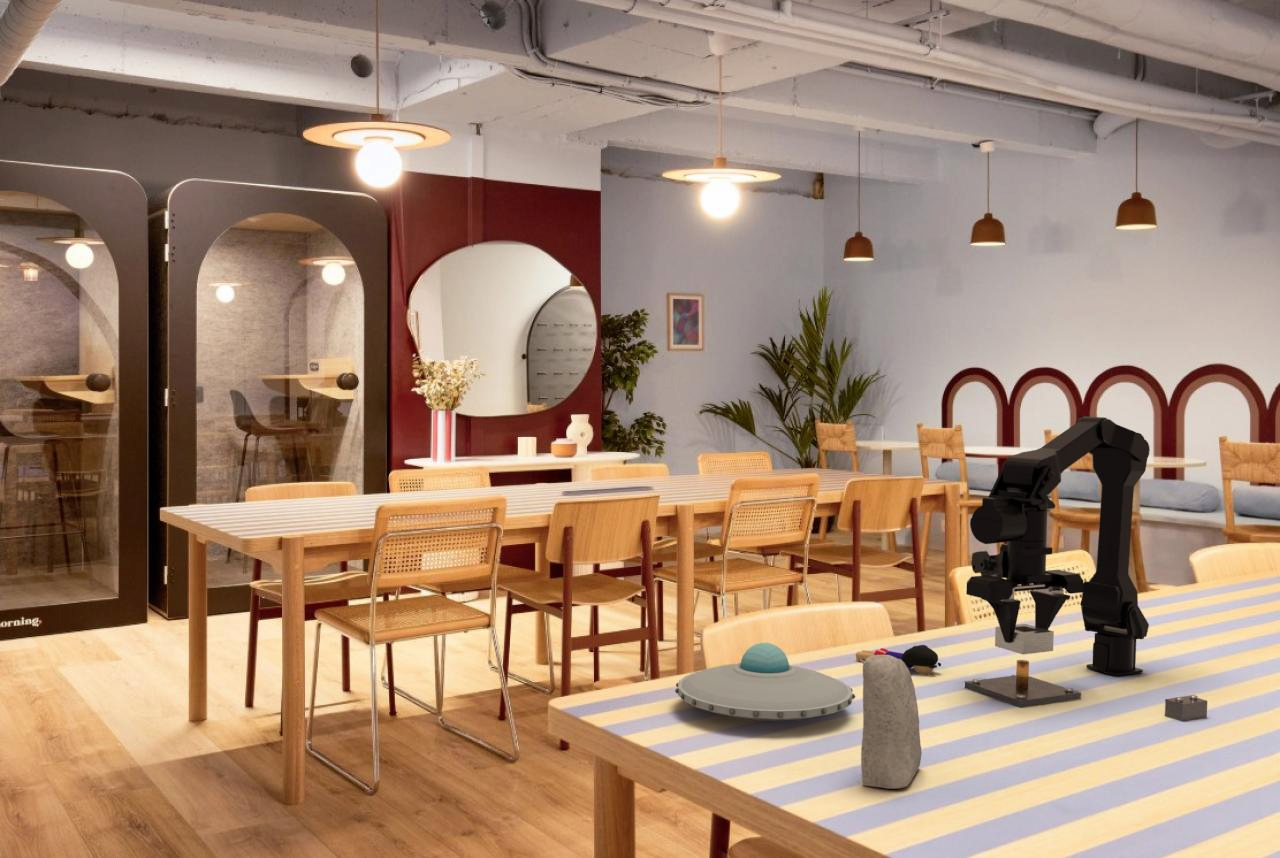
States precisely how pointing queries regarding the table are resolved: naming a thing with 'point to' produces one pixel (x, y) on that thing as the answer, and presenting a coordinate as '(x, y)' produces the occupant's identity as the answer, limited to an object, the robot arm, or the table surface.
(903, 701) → the decorative stone
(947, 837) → the table surface
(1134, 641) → the robot arm
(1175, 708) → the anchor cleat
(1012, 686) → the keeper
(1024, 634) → the socket
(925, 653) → the toy
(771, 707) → the toy
